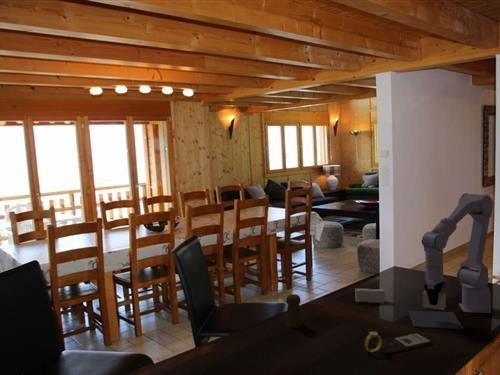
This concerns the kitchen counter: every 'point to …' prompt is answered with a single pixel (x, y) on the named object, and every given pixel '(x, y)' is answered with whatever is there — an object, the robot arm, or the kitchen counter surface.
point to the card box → (440, 304)
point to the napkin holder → (370, 295)
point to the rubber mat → (435, 320)
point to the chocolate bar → (401, 343)
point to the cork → (293, 311)
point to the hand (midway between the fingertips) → (434, 302)
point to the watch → (371, 334)
